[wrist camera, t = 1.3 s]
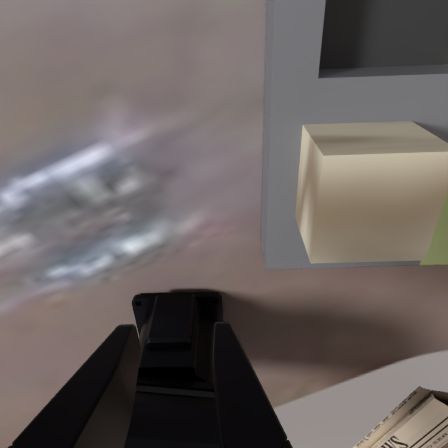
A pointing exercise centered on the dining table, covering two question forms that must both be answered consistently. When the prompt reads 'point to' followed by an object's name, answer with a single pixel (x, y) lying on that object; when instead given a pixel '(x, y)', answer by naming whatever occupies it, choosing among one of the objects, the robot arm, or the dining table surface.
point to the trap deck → (346, 96)
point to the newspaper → (413, 423)
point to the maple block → (370, 191)
